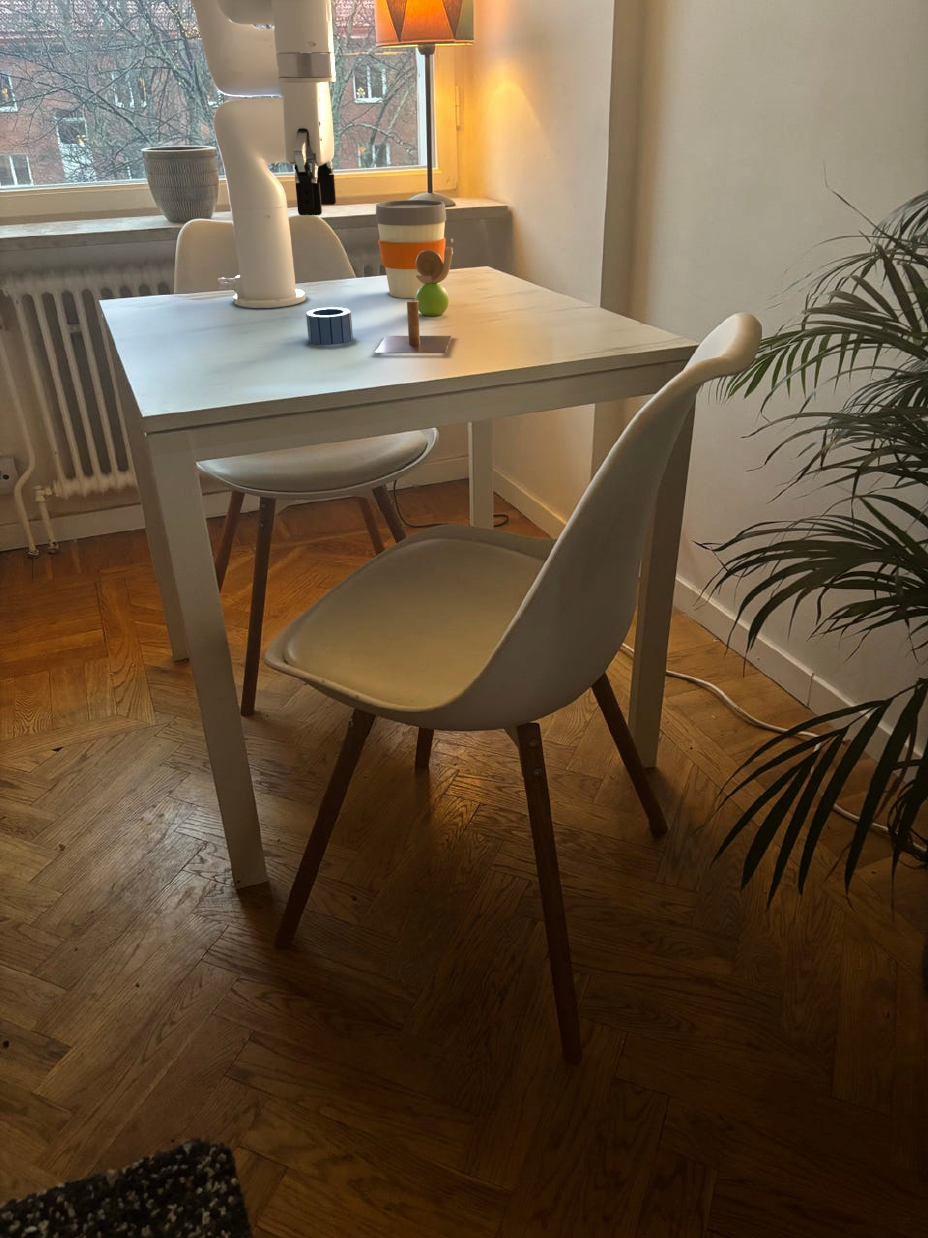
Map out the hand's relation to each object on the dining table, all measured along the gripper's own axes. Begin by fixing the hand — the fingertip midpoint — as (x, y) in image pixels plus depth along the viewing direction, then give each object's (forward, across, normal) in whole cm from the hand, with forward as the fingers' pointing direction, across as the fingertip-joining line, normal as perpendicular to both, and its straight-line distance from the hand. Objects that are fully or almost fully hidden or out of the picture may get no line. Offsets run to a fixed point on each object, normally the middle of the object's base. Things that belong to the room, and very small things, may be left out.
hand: (317, 209), depth 132 cm
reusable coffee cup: (+19, -34, +9) cm, 40 cm away
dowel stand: (+18, +6, +14) cm, 23 cm away
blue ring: (+18, +3, +1) cm, 18 cm away
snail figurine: (+18, -14, +15) cm, 28 cm away
